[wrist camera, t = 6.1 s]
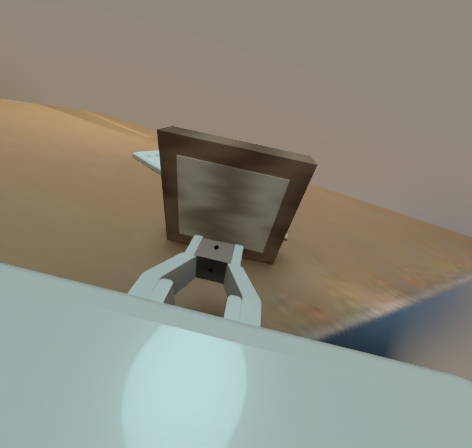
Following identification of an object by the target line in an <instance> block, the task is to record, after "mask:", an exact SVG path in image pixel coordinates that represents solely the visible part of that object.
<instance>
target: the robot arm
mask: <svg viewBox="0 0 472 448" xmlns="http://www.w3.org/2000/svg"><path fill="white" fill-rule="evenodd" d="M242 253H243V246H242V245H238V244H233V243H228V242H224V241H219V240H215V239H211V238H208V237H203V236H199V235H195V236H194V237H193V239H192V240H191V242H190V244H189V246H188V247H187V249H186V251H185V253H180V254H178V255H176V256H174V257H172V258H170V259H168V260H166V261H164V262H162V263H161V264H159V265H157V266H155V267H153V268H151V269H149V270H147V271H145V272H143V273H142V275H141V276H140V277H139V279H138V280H137V281H136V283H135V284H134V285H133V287H132V288H131V289H130V291H129V292H128V293H127V294H126V293H122V292H118V291H114V290H110V289H106V288H102V287H98V286H94V285H90V284H85V283H81V282H77V281H73V280H69V279H65V278H61V277H57V276H53V275H49V274H45V273H41V272H37V271H33V270H29V269H25V268H21V267H17V266H13V265H9V264H5V263H1V262H0V448H472V382H471V381H469V380H467V379H465V378H463V377H460V376H457V375H454V374H450V373H446V372H441V371H437V370H433V369H429V368H425V367H421V366H417V365H413V364H409V363H405V362H401V361H397V360H393V359H389V358H385V357H380V356H376V355H372V354H368V353H364V352H360V351H356V350H352V349H348V348H344V347H340V346H336V345H332V344H327V343H324V342H320V341H316V340H312V339H308V338H303V337H299V336H295V335H291V334H287V333H283V332H279V331H275V330H271V329H267V328H263V327H260V323H261V300H260V298H259V297H258V295H257V293H256V291H255V289H254V287H253V285H252V283H251V282H250V280H249V278H248V276H247V274H246V272H245V270H244V269H243V267H241V266H240V265H241V259H242ZM195 277H197V278H201V279H206V280H210V281H214V282H218V283H221V284H223V286H224V289H225V292H226V295H227V298H228V299H227V303H226V307H225V311H224V314H223V317H219V316H215V315H211V314H207V313H202V312H198V311H194V310H190V309H186V308H182V307H178V306H175V302H174V295H175V294H176V293H178V292H179V291H180V290H181V289H182V288H184V287H185V286H186V285H187V284H189V283H190V282H191V281H192V280H194V279H195Z"/></svg>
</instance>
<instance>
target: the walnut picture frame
mask: <svg viewBox="0 0 472 448" xmlns="http://www.w3.org/2000/svg"><path fill="white" fill-rule="evenodd" d="M157 135H158V146H159V156H160V167H161V178H162V189H163V200H164V211H165V221H166V232H167V240H172V241H176V242H180V243H184V244H188V245H189V244H190V242H191V240H192V239H193V237H194V236H195V235H199V236H203V237H208V238H211V239H215V240H219V241H224V242H228V243H233V244H238V245H242V246H243V253H242V257H243V258H248V259H252V260H256V261H260V262H265V263H269V264H273V262H274V260H275V258H276V255H277V253H278V251H279V249H280V246H281V244H282V242H283V240H284V238H285V235H286V233H287V231H288V229H289V226H290V224H291V222H292V220H293V218H294V215H295V213H296V211H297V209H298V206H299V204H300V202H301V200H302V198H303V195H304V193H305V191H306V189H307V186H308V184H309V182H310V179H311V177H312V175H313V173H314V171H315V169H316V166H317V164H316V163H315V162H314V160H313V159H312V158H311V157H310V156H306V155H302V154H297V153H293V152H288V151H283V150H279V149H274V148H270V147H265V146H260V145H255V144H252V143H247V142H242V141H237V140H233V139H228V138H224V137H219V136H215V135H210V134H206V133H201V132H197V131H192V130H188V129H183V128H178V127H174V126H171V127H167V128H162V129H157Z"/></svg>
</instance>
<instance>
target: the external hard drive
mask: <svg viewBox="0 0 472 448" xmlns="http://www.w3.org/2000/svg"><path fill="white" fill-rule="evenodd" d="M133 158H135V159H136V160H138V161H140V162H141V163H143V164H144V165H146V166H148V167H149V168H151V169H152V170H154V171H156V172H157V173H159V174H160V175H161V167H160V156H159V150H157V151H143V152H134V153H133Z"/></svg>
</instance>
